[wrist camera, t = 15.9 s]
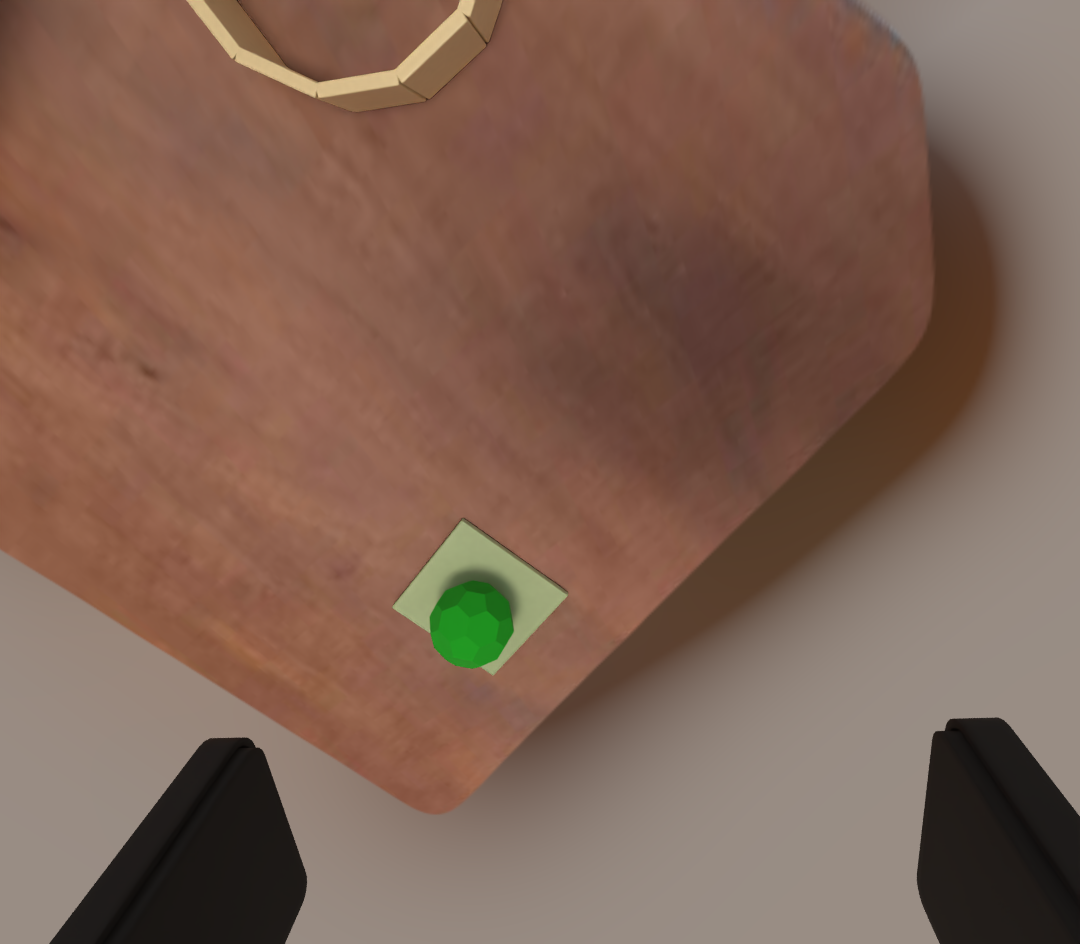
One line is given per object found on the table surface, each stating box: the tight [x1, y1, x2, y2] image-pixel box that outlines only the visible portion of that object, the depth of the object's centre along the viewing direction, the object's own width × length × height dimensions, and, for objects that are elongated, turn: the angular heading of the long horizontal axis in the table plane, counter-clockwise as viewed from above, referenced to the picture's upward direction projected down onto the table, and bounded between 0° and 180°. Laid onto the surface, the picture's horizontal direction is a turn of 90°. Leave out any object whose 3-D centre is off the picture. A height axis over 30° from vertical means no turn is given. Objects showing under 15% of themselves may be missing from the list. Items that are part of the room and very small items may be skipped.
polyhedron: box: [429, 580, 514, 669], centre depth 39 cm, size 5×5×5 cm
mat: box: [392, 518, 568, 675], centre depth 42 cm, size 8×8×1 cm
